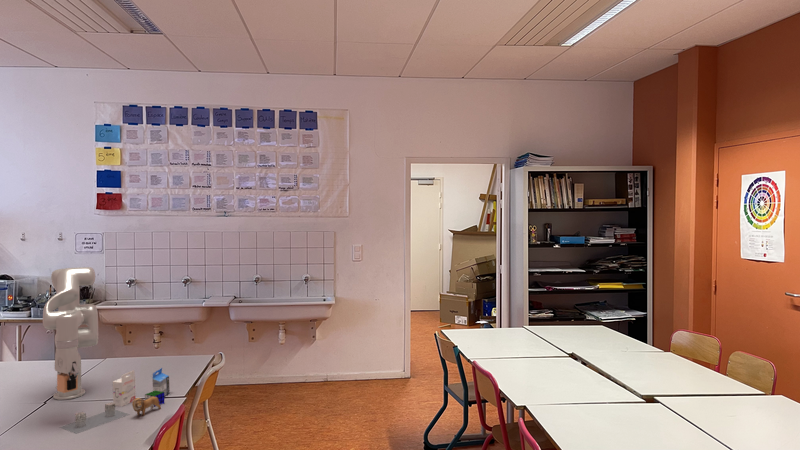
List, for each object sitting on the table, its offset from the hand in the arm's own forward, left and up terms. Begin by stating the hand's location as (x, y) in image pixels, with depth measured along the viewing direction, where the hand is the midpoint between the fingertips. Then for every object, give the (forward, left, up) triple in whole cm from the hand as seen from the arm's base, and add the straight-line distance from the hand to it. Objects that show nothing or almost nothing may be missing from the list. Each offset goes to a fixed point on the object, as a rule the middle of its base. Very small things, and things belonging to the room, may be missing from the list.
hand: (67, 387), depth 208 cm
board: (+9, +6, -15) cm, 18 cm away
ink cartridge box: (0, +24, -15) cm, 28 cm away
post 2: (+9, +12, -14) cm, 21 cm away
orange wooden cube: (0, 0, -1) cm, 1 cm away
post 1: (+9, 0, -14) cm, 17 cm away
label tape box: (+5, +39, -15) cm, 42 cm away
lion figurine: (+20, +22, -15) cm, 33 cm away
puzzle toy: (+13, +30, -15) cm, 36 cm away
